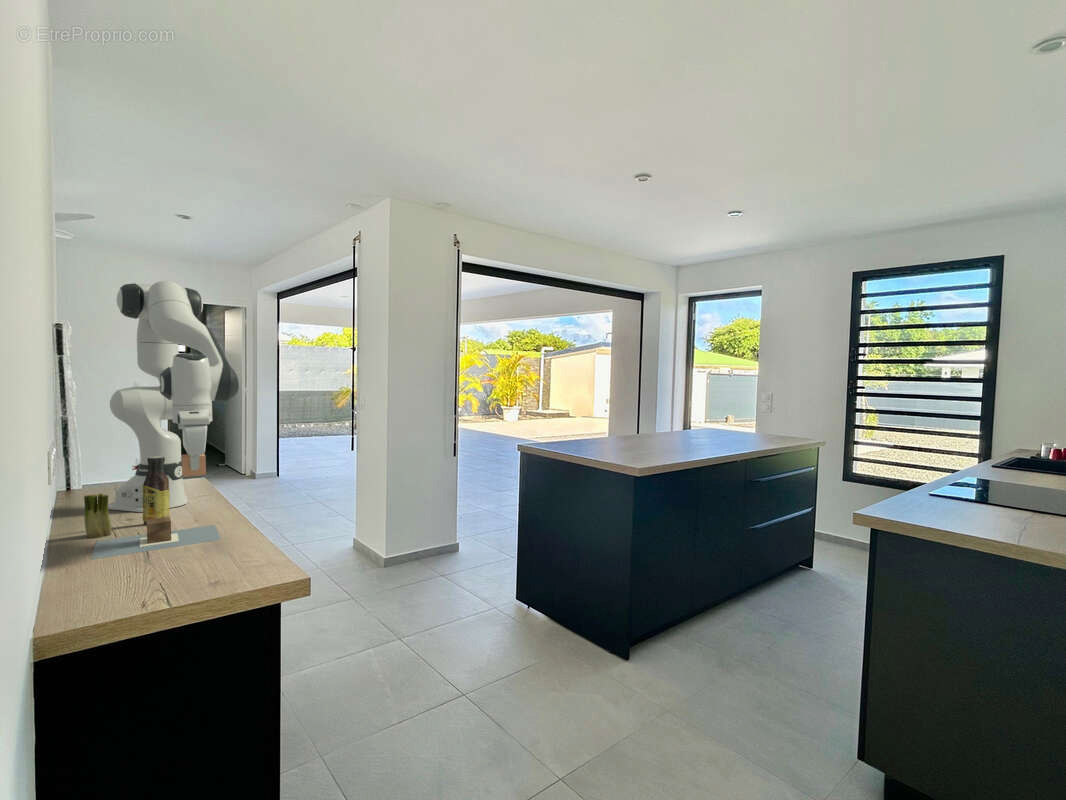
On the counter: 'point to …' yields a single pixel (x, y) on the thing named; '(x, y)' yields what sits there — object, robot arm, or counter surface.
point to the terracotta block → (187, 470)
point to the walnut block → (158, 530)
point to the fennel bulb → (97, 516)
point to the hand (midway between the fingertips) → (193, 468)
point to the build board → (140, 543)
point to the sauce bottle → (155, 490)
